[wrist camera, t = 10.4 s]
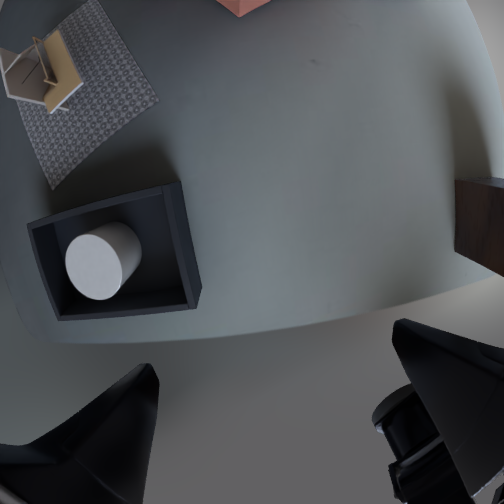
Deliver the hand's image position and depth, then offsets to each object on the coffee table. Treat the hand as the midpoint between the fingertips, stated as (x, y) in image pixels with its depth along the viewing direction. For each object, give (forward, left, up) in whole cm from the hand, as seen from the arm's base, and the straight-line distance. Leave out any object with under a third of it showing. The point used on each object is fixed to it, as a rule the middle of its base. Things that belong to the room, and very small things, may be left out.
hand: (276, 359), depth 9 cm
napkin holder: (+2, +21, -12) cm, 24 cm away
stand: (+17, -15, -12) cm, 25 cm away
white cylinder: (-6, +8, -11) cm, 15 cm away
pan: (-6, +8, -12) cm, 16 cm away
